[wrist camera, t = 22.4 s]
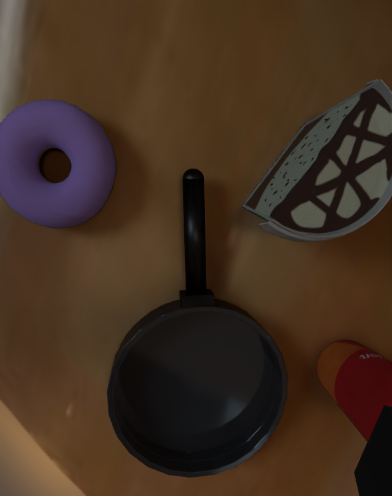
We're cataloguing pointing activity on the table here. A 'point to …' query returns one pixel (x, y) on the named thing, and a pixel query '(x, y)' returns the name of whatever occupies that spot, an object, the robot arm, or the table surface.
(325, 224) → the food container
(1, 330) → the table surface
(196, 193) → the pan handle
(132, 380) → the pan
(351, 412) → the paper cup
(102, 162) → the donut
